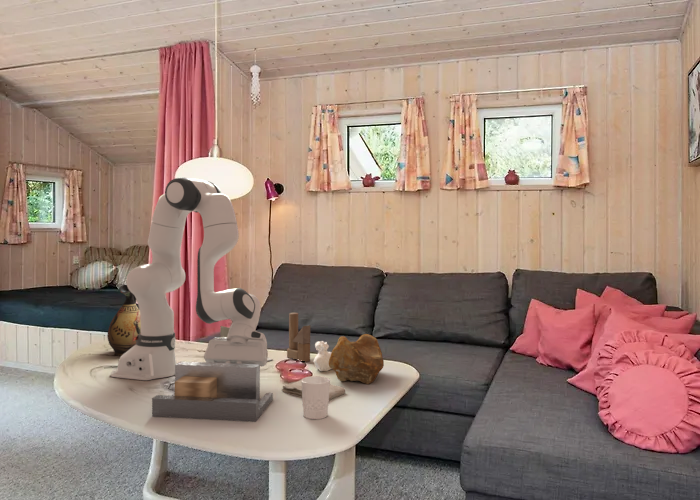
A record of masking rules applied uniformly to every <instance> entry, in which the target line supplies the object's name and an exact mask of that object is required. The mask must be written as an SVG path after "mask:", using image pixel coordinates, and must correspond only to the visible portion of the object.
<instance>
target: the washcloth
mask: <svg viewBox="0 0 700 500" xmlns="http://www.w3.org/2000/svg"><path fill="white" fill-rule="evenodd" d="M302 379H303V378H301V379H299V380H298V381H292V382H289V383H286V384H284V385H282V388H281V391H282V392H284V393H285V394H287V395H290V396H295V397H299V398H302ZM344 394H346V388H345V387H342V386H339V385H335V384H332V383H330V389H329V401H331V400H332V399H335V398H338V397H340V396H343V395H344Z"/></svg>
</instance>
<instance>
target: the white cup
mask: <svg viewBox="0 0 700 500" xmlns="http://www.w3.org/2000/svg"><path fill="white" fill-rule="evenodd" d="M301 379H302V397H301V401H302V412H303V413H302V414H303V417H304V418H306V419H309V420H322V419H325V418H326V417H327V416H328V408H329V404H330V403H329V401H330V400H329V389H330V384H331V380H330V378H329V377H327V376H321V375H313V376H305V377H303V378H301Z"/></svg>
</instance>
